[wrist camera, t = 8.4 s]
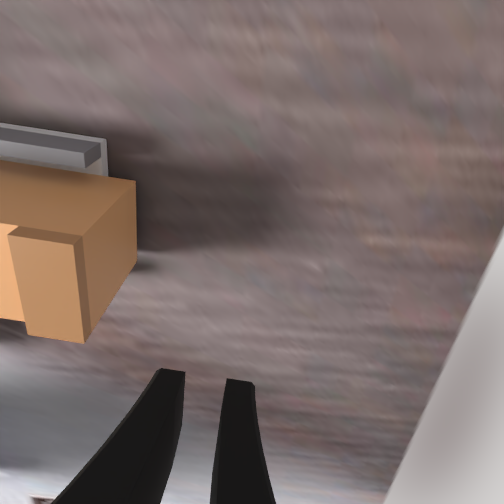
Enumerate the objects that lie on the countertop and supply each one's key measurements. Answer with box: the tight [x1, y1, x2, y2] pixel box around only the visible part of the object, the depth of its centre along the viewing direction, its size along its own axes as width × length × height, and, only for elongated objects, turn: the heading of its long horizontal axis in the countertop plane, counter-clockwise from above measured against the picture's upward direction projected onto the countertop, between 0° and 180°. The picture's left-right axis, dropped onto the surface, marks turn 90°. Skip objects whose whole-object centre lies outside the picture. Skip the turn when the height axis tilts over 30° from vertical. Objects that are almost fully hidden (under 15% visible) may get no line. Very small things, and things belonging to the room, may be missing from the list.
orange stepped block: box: [0, 160, 137, 344], centre depth 15 cm, size 4×8×6 cm, turn 82°
